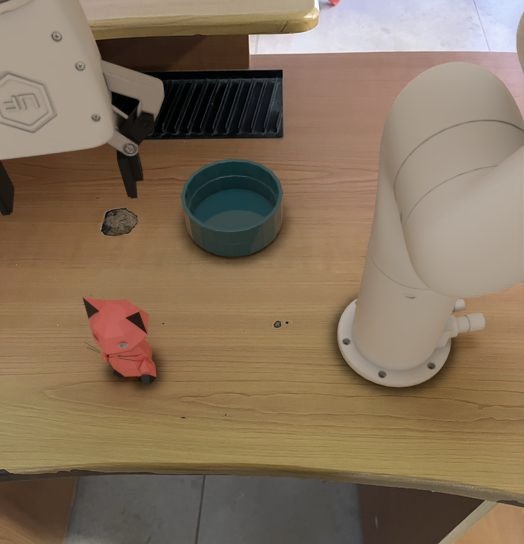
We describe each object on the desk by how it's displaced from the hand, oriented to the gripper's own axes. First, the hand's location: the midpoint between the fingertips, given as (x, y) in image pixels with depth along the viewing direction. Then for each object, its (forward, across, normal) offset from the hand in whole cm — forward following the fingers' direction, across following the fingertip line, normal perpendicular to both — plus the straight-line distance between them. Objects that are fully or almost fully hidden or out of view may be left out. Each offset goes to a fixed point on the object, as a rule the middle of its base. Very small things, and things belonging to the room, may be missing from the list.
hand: (71, 194), depth 45 cm
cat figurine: (+24, 0, -2) cm, 24 cm away
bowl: (+24, +14, +17) cm, 33 cm away
